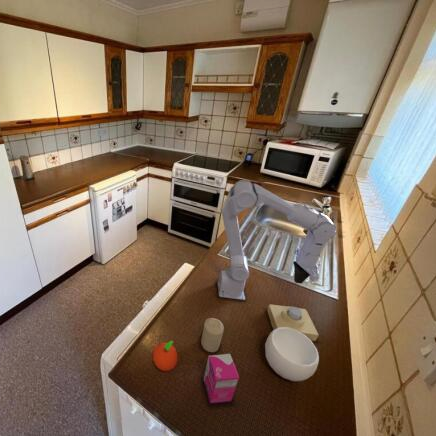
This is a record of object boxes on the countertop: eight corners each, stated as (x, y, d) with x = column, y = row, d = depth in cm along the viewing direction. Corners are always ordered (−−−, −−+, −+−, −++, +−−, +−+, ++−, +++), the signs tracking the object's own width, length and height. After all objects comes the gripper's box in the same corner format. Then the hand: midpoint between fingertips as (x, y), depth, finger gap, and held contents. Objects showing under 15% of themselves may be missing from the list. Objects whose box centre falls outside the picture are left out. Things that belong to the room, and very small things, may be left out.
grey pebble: (289, 319, 77) (291, 314, 76) (286, 310, 80) (287, 305, 79) (301, 320, 76) (303, 316, 75) (297, 311, 79) (299, 307, 78)
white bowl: (308, 400, 61) (321, 379, 56) (256, 372, 66) (265, 352, 62) (309, 359, 70) (321, 338, 65) (264, 338, 76) (272, 318, 71)
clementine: (162, 344, 73) (163, 329, 70) (182, 357, 70) (184, 342, 66) (147, 366, 67) (148, 351, 64) (168, 381, 64) (170, 366, 61)
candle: (219, 338, 75) (225, 317, 70) (218, 355, 71) (224, 333, 66) (202, 333, 77) (206, 312, 72) (199, 349, 72) (204, 327, 67)
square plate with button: (275, 334, 77) (279, 324, 74) (266, 309, 85) (270, 300, 83) (315, 341, 75) (321, 330, 73) (302, 315, 84) (307, 305, 81)
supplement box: (202, 379, 65) (208, 354, 59) (223, 377, 65) (231, 352, 60) (209, 404, 60) (216, 379, 54) (231, 402, 60) (241, 377, 54)
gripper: (336, 266, 70) (319, 299, 77) (314, 239, 83) (302, 269, 89) (310, 263, 71) (296, 296, 78) (293, 237, 84) (281, 267, 90)
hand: (297, 281), depth 83 cm, fingers closed
